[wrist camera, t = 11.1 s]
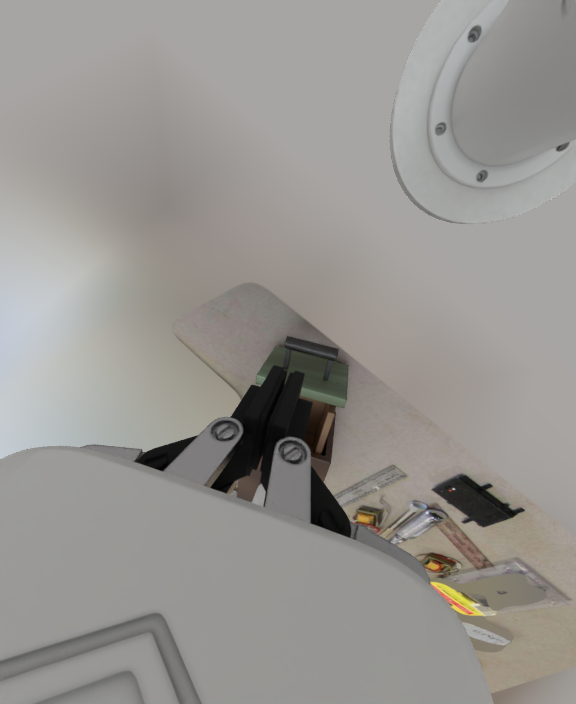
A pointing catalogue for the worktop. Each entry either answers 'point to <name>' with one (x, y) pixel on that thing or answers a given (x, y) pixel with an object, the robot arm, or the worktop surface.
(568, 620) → the worktop surface
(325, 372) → the drawer
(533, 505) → the worktop surface
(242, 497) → the cabinet
